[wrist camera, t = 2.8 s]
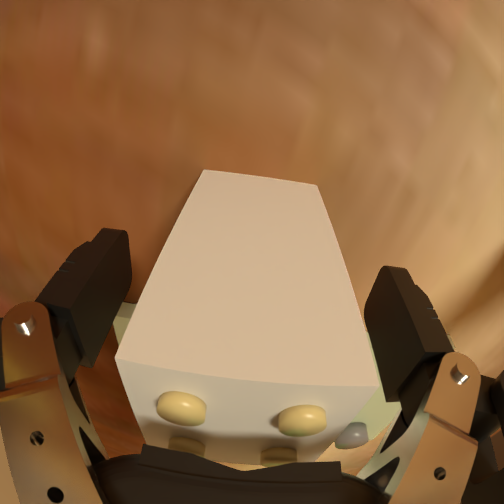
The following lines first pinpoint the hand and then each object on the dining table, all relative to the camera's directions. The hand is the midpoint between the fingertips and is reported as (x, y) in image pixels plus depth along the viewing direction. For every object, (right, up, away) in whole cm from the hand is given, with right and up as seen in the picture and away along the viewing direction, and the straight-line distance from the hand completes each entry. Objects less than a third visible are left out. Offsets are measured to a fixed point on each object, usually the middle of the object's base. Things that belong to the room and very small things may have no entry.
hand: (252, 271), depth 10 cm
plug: (0, +2, +2) cm, 3 cm away
